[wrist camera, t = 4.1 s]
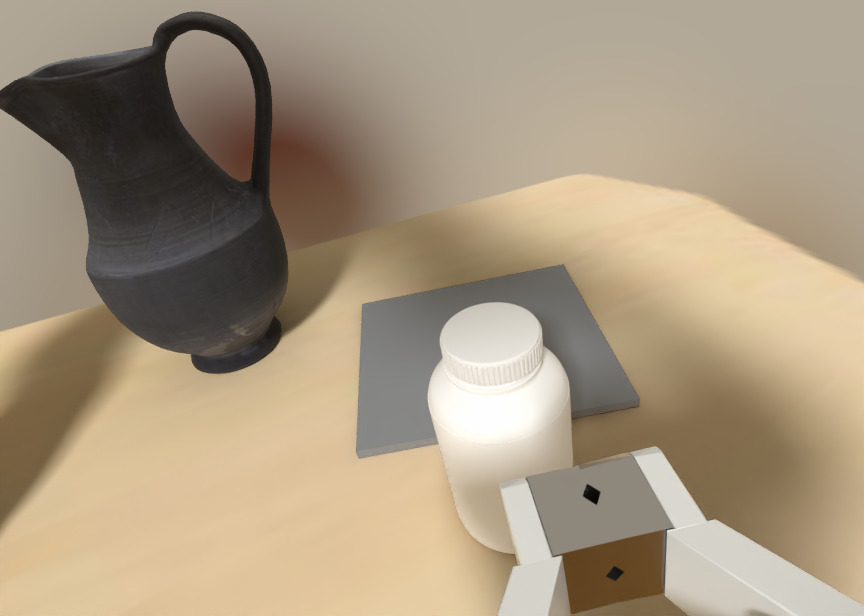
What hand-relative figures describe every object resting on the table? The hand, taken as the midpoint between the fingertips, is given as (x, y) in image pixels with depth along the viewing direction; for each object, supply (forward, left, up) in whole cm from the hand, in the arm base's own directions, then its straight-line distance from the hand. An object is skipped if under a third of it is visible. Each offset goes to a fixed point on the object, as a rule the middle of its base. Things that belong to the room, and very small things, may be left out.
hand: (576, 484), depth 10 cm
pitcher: (-23, +40, -23) cm, 52 cm away
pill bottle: (0, +15, -23) cm, 28 cm away
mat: (0, +31, -23) cm, 39 cm away
